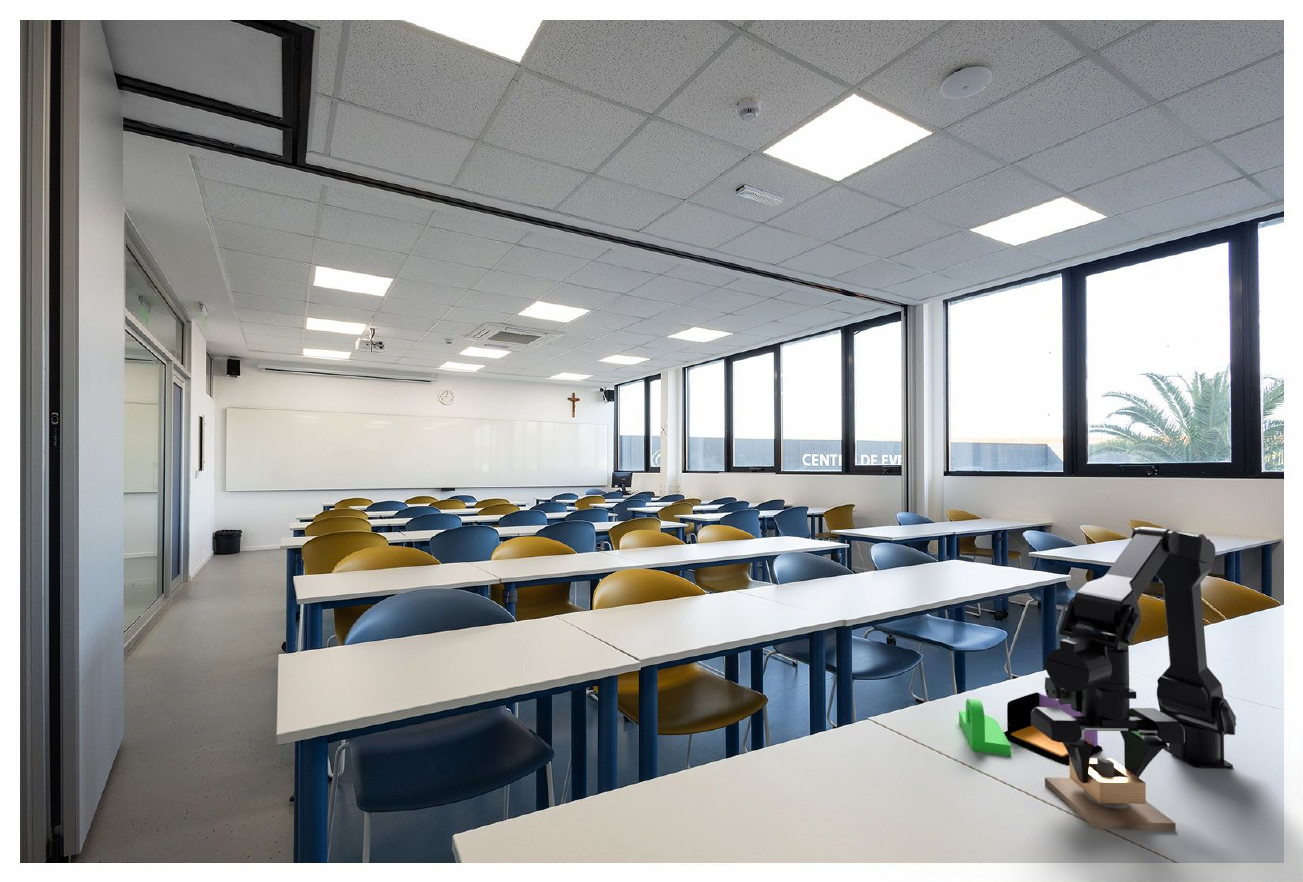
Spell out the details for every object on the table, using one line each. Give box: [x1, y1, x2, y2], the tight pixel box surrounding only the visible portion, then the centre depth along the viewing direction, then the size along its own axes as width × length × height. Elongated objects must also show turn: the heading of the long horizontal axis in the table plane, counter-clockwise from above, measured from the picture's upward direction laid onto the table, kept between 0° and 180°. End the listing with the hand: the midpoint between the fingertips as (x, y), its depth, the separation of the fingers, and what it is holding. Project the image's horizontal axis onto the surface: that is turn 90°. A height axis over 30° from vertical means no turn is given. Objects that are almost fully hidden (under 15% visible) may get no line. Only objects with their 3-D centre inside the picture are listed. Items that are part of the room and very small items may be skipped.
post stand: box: [1044, 757, 1177, 831], centre depth 88 cm, size 11×11×7 cm
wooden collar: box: [1069, 758, 1147, 804], centre depth 87 cm, size 6×6×3 cm
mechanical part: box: [958, 698, 1012, 756], centre depth 109 cm, size 12×6×8 cm, turn 162°
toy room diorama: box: [1003, 692, 1103, 766], centre depth 107 cm, size 12×12×7 cm
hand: (1105, 782), depth 88 cm, fingers open, 7 cm apart
